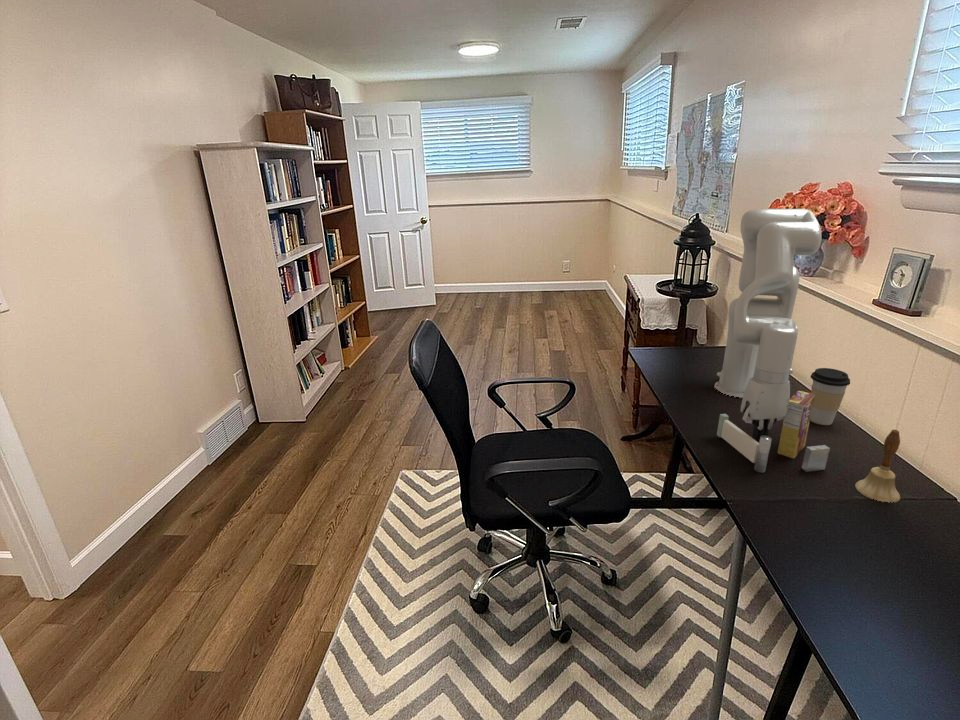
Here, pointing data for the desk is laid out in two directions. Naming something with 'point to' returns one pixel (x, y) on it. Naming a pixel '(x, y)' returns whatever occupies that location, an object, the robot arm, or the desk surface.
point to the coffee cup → (827, 394)
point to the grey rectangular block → (815, 458)
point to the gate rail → (737, 438)
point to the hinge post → (762, 453)
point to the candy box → (796, 424)
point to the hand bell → (882, 474)
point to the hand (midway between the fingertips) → (758, 441)
